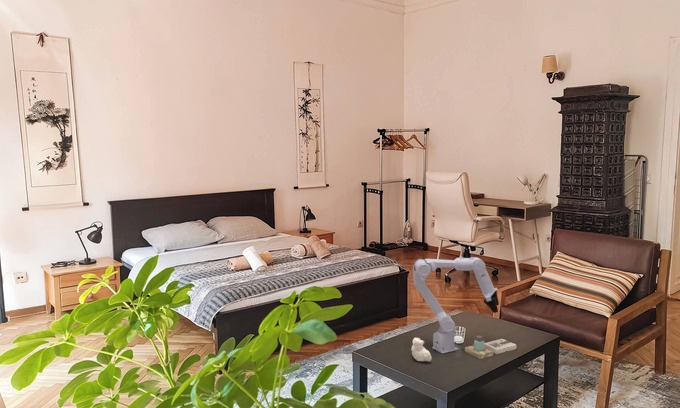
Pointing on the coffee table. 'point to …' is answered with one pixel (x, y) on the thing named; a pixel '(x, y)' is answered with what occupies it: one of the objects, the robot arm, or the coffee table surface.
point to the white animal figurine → (420, 351)
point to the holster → (477, 354)
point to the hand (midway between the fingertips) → (496, 308)
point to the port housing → (500, 346)
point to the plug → (479, 344)
